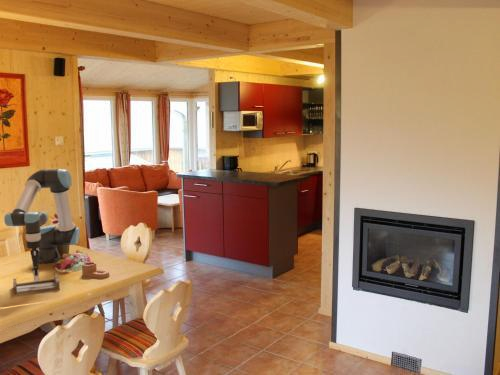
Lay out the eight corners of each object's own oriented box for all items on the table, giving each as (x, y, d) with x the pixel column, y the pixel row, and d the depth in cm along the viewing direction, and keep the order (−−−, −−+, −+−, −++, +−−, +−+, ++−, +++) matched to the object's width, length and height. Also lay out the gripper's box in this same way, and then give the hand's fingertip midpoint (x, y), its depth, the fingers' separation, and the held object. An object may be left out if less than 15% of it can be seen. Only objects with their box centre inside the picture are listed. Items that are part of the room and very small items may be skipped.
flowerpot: (74, 252, 356) (72, 210, 352) (68, 257, 342) (66, 214, 338) (54, 252, 355) (51, 211, 351) (47, 257, 341) (44, 214, 337)
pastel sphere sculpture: (48, 266, 322) (47, 252, 321) (83, 259, 338) (83, 246, 336) (62, 275, 304) (61, 260, 302) (99, 267, 319) (98, 253, 318)
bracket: (79, 275, 301) (78, 264, 300) (89, 272, 308) (88, 261, 308) (102, 279, 294) (102, 268, 293) (112, 275, 301) (111, 264, 300)
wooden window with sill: (13, 286, 281) (13, 278, 280) (57, 281, 290) (56, 273, 290) (13, 296, 265) (13, 287, 265) (59, 289, 275) (59, 281, 274)
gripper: (25, 236, 284) (28, 271, 287) (26, 246, 262) (29, 285, 265) (39, 234, 287) (42, 270, 290) (42, 244, 265) (44, 283, 268)
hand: (36, 277), depth 277 cm, fingers open, 13 cm apart
